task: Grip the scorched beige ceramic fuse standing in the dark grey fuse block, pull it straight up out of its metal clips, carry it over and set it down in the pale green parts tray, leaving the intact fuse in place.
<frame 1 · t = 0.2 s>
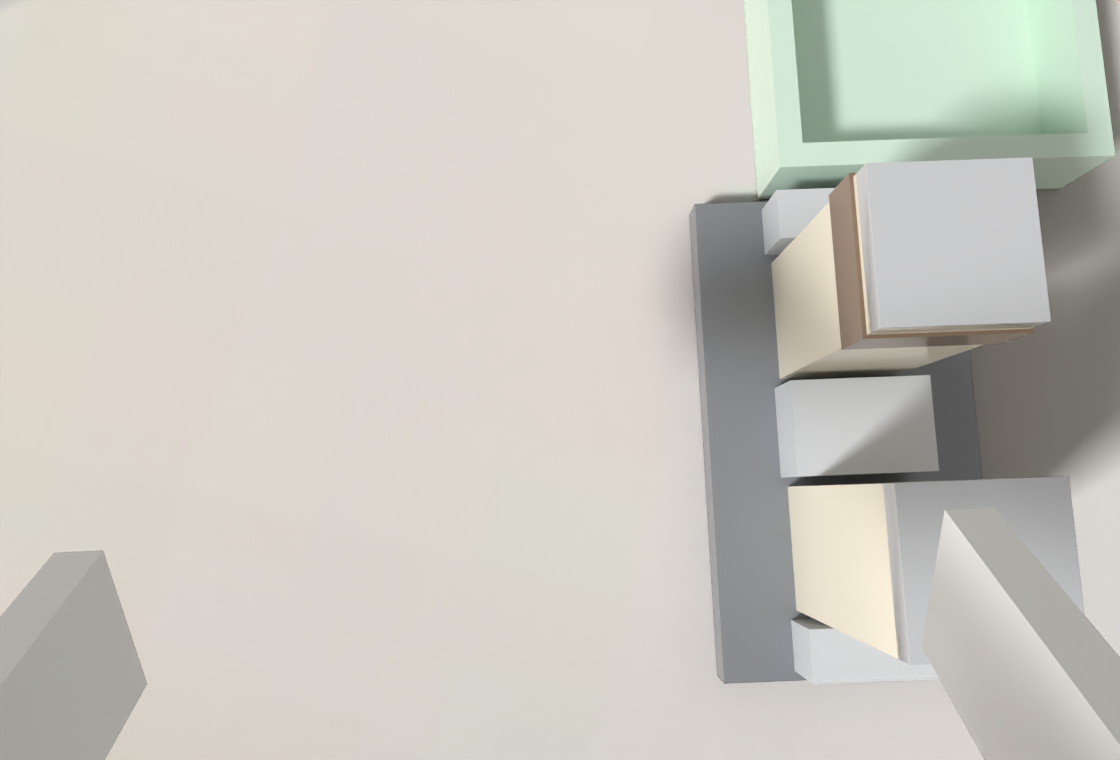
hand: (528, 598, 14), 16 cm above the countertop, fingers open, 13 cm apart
blown fuse: (834, 318, 30), point 1 cm above the countertop, touching fuse block
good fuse: (852, 545, 29), point 1 cm above the countertop, touching fuse block
fuse block: (831, 432, 30), on the countertop
parts tray: (895, 50, 32), on the countertop
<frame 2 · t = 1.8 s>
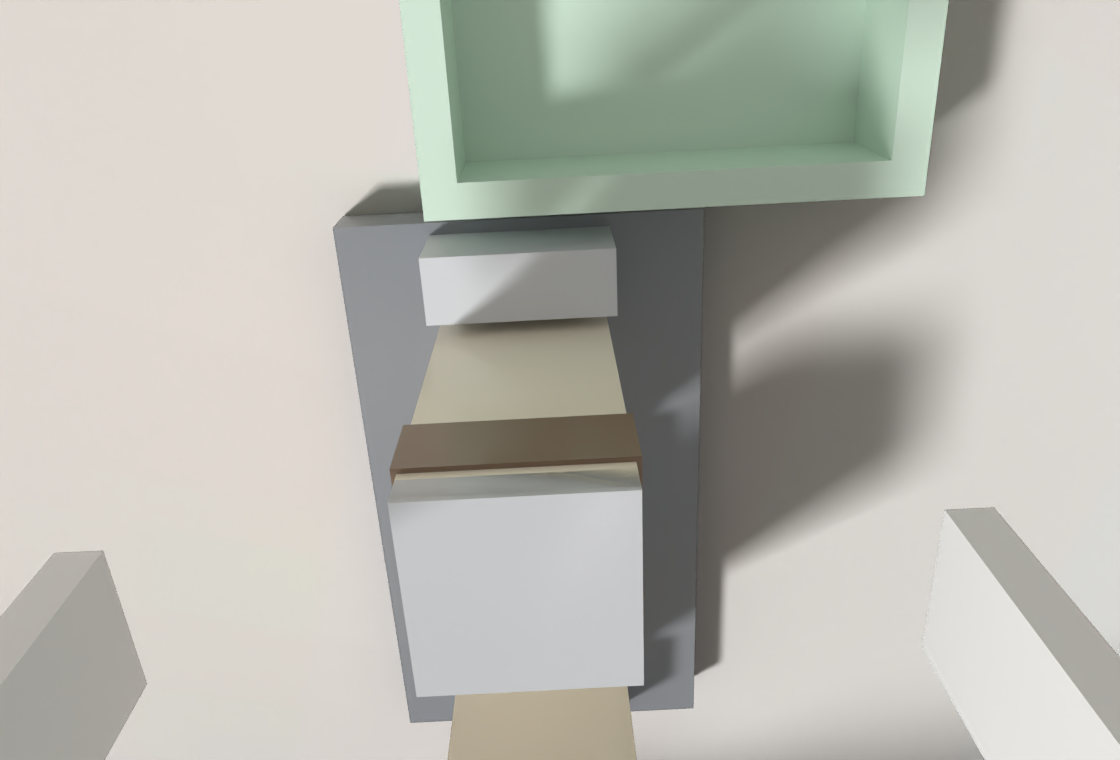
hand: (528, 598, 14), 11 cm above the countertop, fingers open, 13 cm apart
blown fuse: (529, 376, 23), point 1 cm above the countertop, touching fuse block
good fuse: (544, 609, 26), point 1 cm above the countertop, touching fuse block
fuse block: (537, 478, 25), on the countertop
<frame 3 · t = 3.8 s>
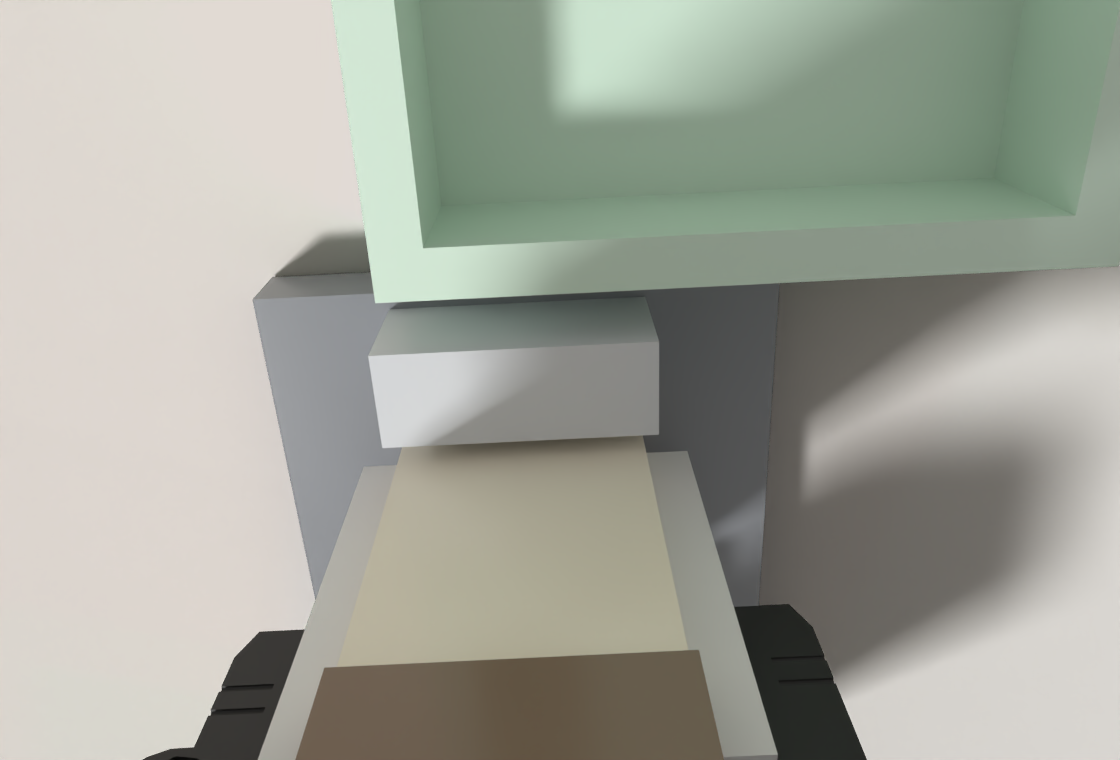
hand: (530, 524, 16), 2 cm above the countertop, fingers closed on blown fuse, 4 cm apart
blown fuse: (530, 495, 17), point 1 cm above the countertop, touching fuse block, gripper
fuse block: (542, 610, 19), on the countertop
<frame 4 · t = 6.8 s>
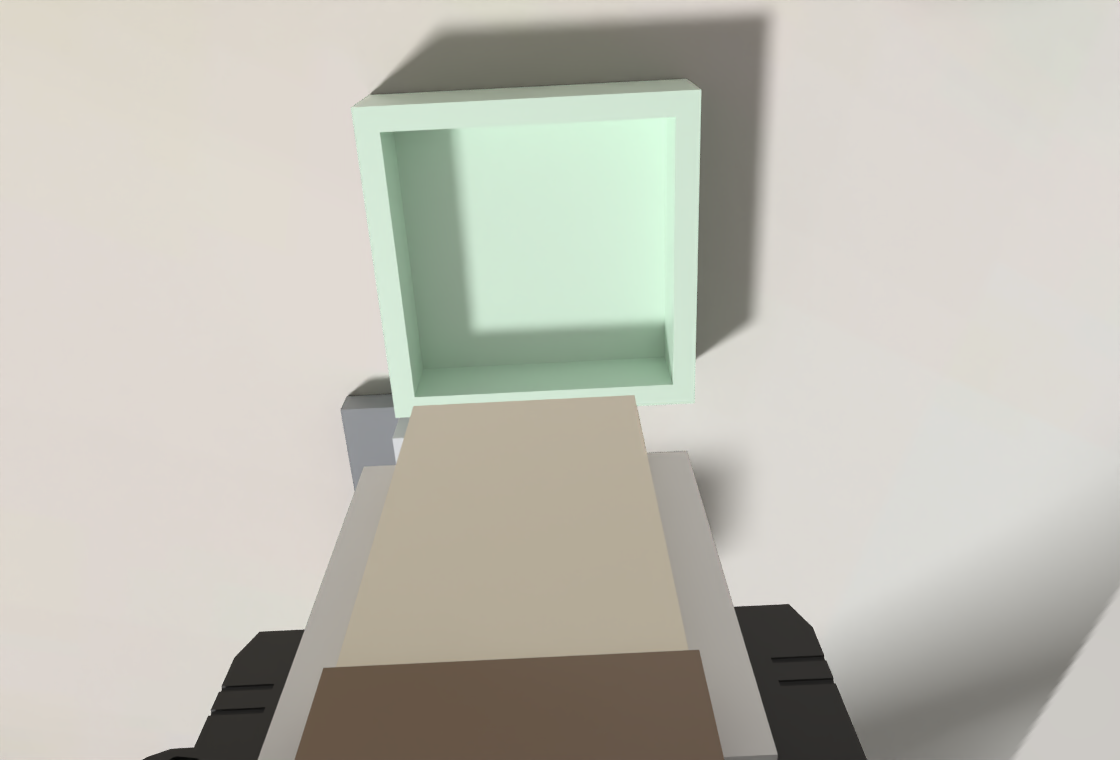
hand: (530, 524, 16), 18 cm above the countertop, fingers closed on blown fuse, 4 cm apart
blown fuse: (530, 494, 17), point 17 cm above the countertop, touching gripper
fuse block: (476, 553, 38), on the countertop
parts tray: (536, 241, 32), on the countertop
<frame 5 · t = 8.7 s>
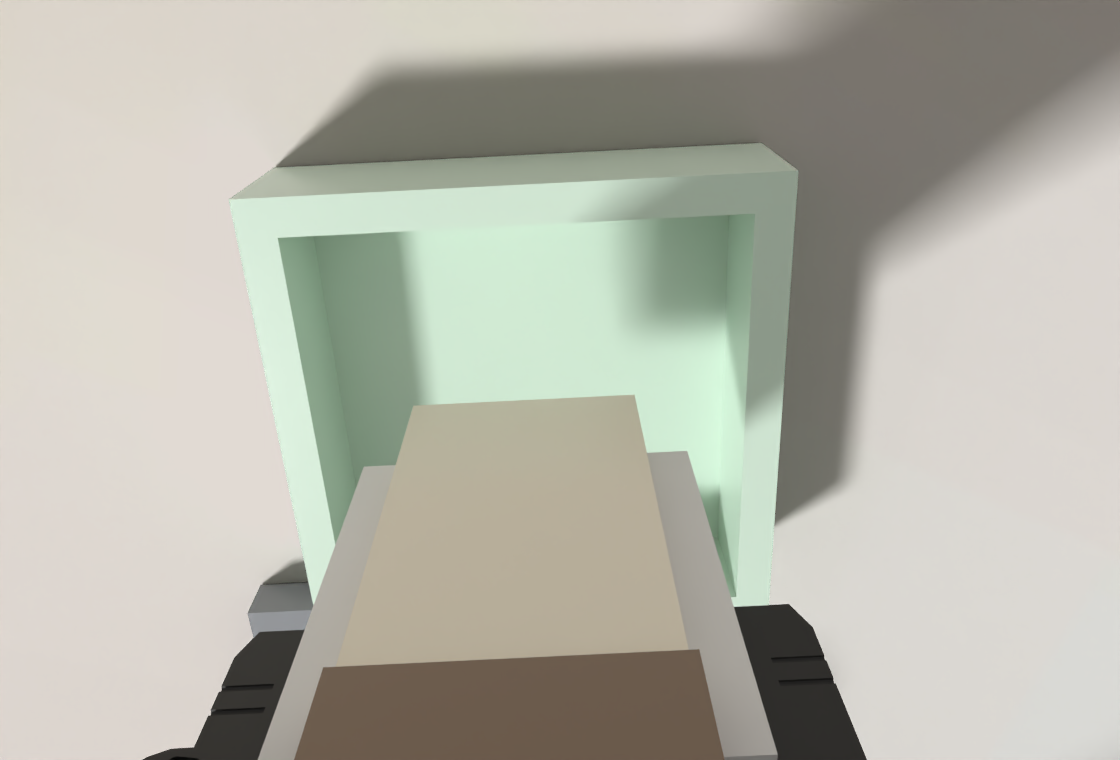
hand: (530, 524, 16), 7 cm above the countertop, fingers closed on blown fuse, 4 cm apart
blown fuse: (530, 493, 17), point 6 cm above the countertop, touching gripper
parts tray: (532, 376, 22), on the countertop
when the fingers open (4 cm above the countertop, at t = 10.0 s): blown fuse drops 2 cm, resting on parts tray.
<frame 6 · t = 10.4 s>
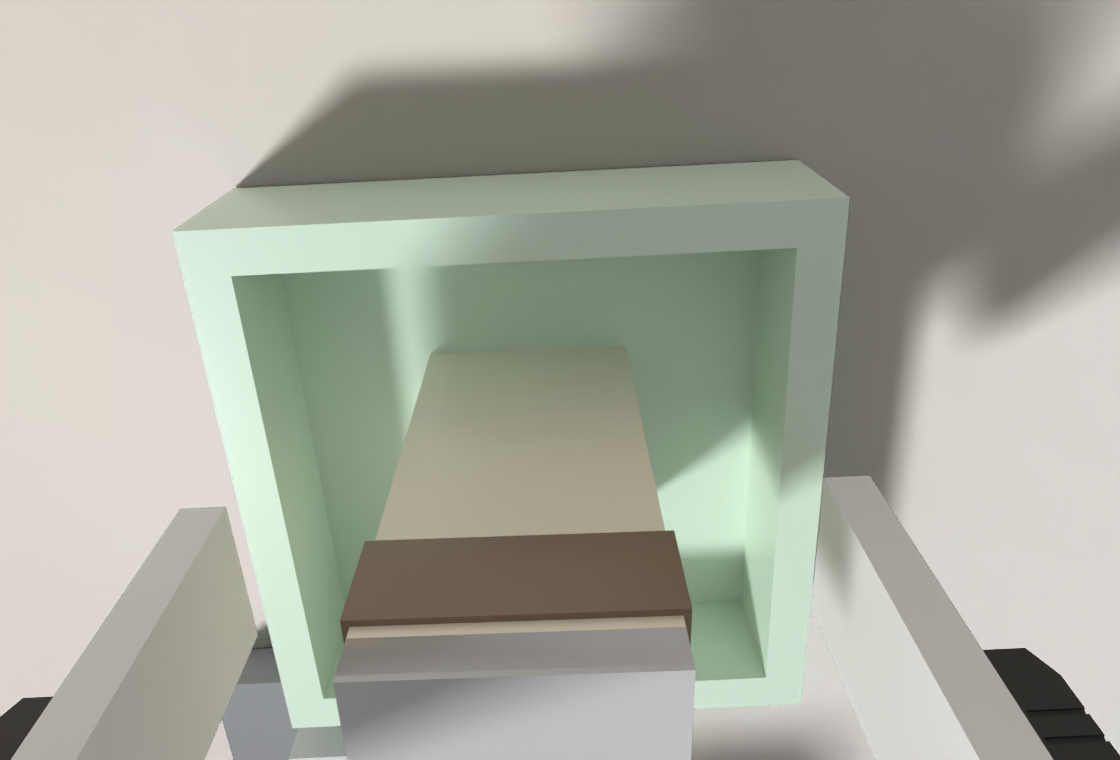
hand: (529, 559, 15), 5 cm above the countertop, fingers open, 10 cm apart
blown fuse: (532, 435, 19), point 1 cm above the countertop, touching parts tray
parts tray: (532, 423, 19), on the countertop
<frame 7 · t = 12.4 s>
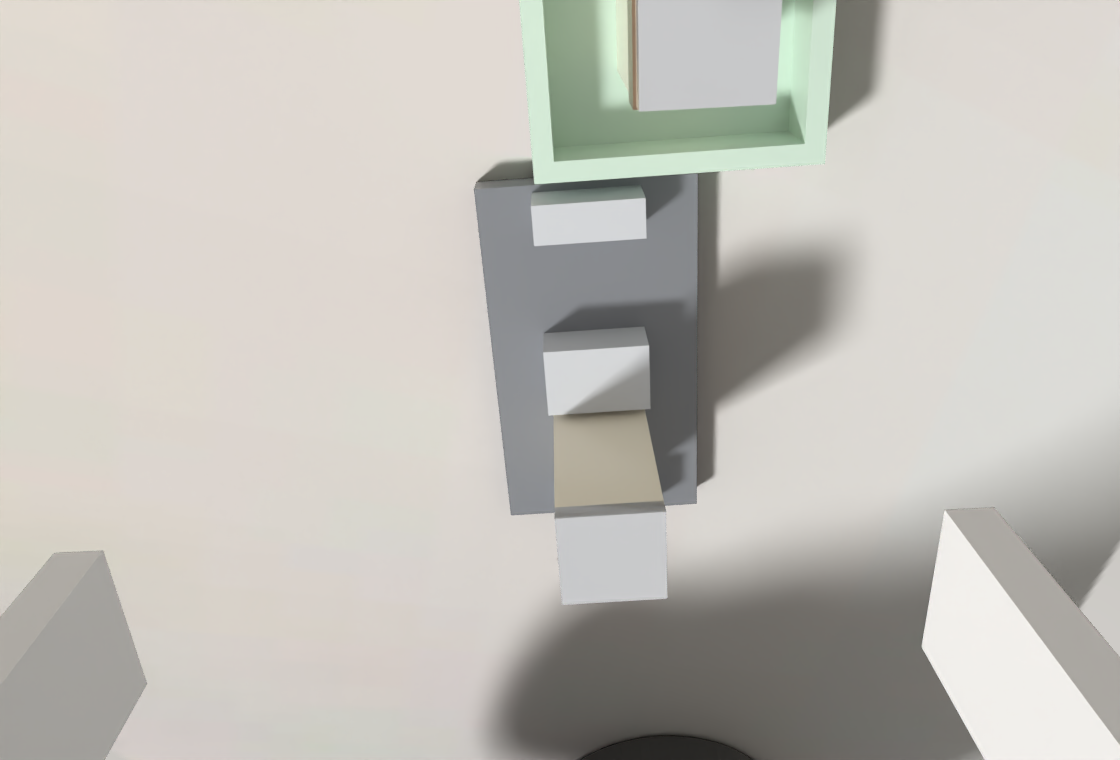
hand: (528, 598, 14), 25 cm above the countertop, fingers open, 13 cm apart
blown fuse: (669, 11, 33), point 1 cm above the countertop, touching parts tray
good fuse: (599, 434, 40), point 1 cm above the countertop, touching fuse block
fuse block: (594, 349, 40), on the countertop
parts tray: (667, 11, 33), on the countertop
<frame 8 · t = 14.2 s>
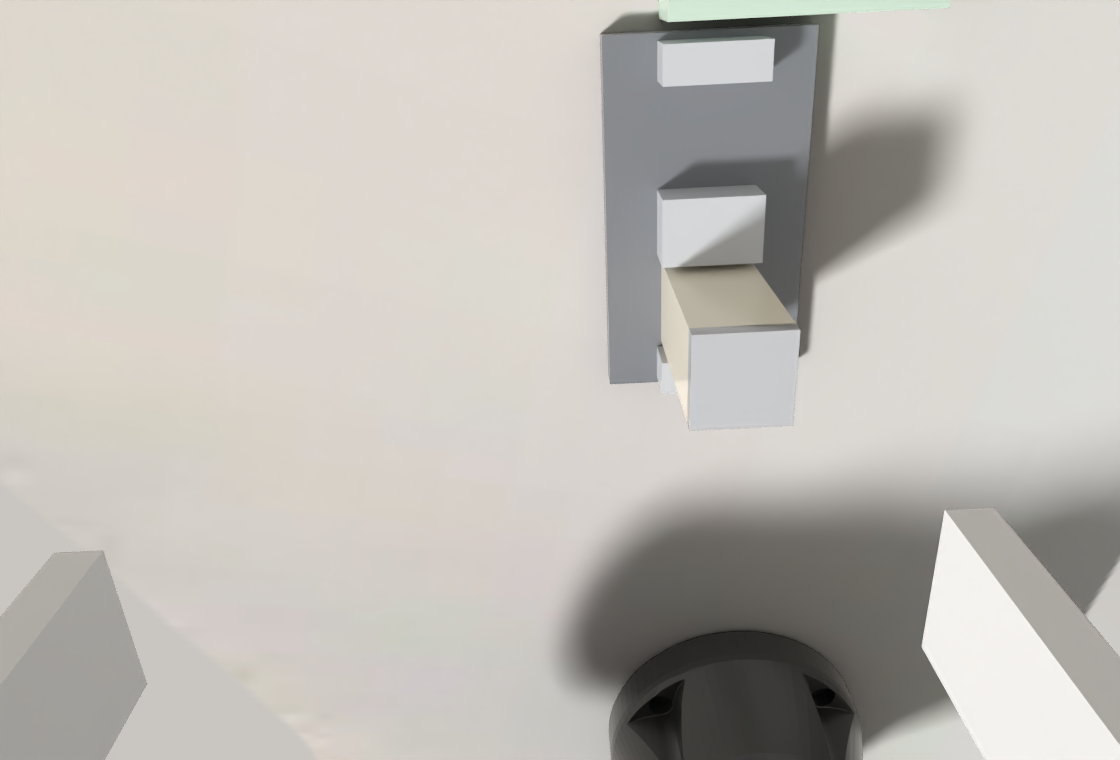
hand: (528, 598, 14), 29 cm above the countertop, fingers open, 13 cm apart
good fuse: (703, 299, 41), point 1 cm above the countertop, touching fuse block
fuse block: (701, 213, 40), on the countertop
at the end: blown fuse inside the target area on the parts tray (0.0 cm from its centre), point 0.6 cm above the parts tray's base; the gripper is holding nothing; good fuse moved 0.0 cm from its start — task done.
